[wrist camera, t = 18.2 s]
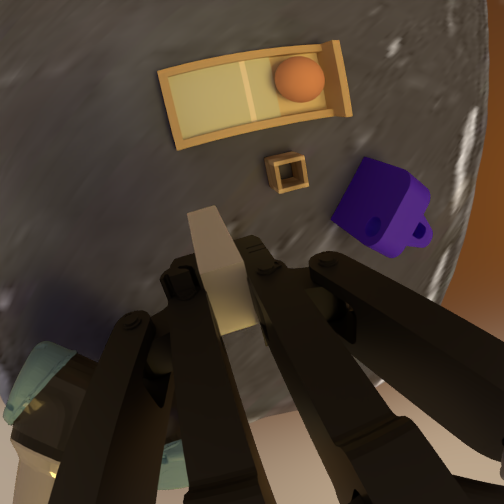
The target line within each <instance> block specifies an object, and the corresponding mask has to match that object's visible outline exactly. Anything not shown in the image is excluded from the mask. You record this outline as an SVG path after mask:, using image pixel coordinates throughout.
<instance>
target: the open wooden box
mask: <svg viewBox="0 0 504 504" xmlns="http://www.w3.org/2000/svg"><path fill="white" fill-rule="evenodd" d="M264 161H265V166H266V171H267V176H268V181H269V186H270V187H271V188H272V189H274V190H275V191H276V192H277V193H279V194H281V193H284V192H288V191H292V190H296V189H300V188H304V187H308V186H309V183H308V177H307V170H306V164H305V157H304V155H301V154H299V153H296V152H293V151H291V152H287V153H282V154H278V155H274V156H269V157H265V158H264ZM287 163H291V167H292V173H293V177H290V178H286V179H282V180H281V178H280V173H279V168H278V166H279V165H283V164H287Z"/></svg>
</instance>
